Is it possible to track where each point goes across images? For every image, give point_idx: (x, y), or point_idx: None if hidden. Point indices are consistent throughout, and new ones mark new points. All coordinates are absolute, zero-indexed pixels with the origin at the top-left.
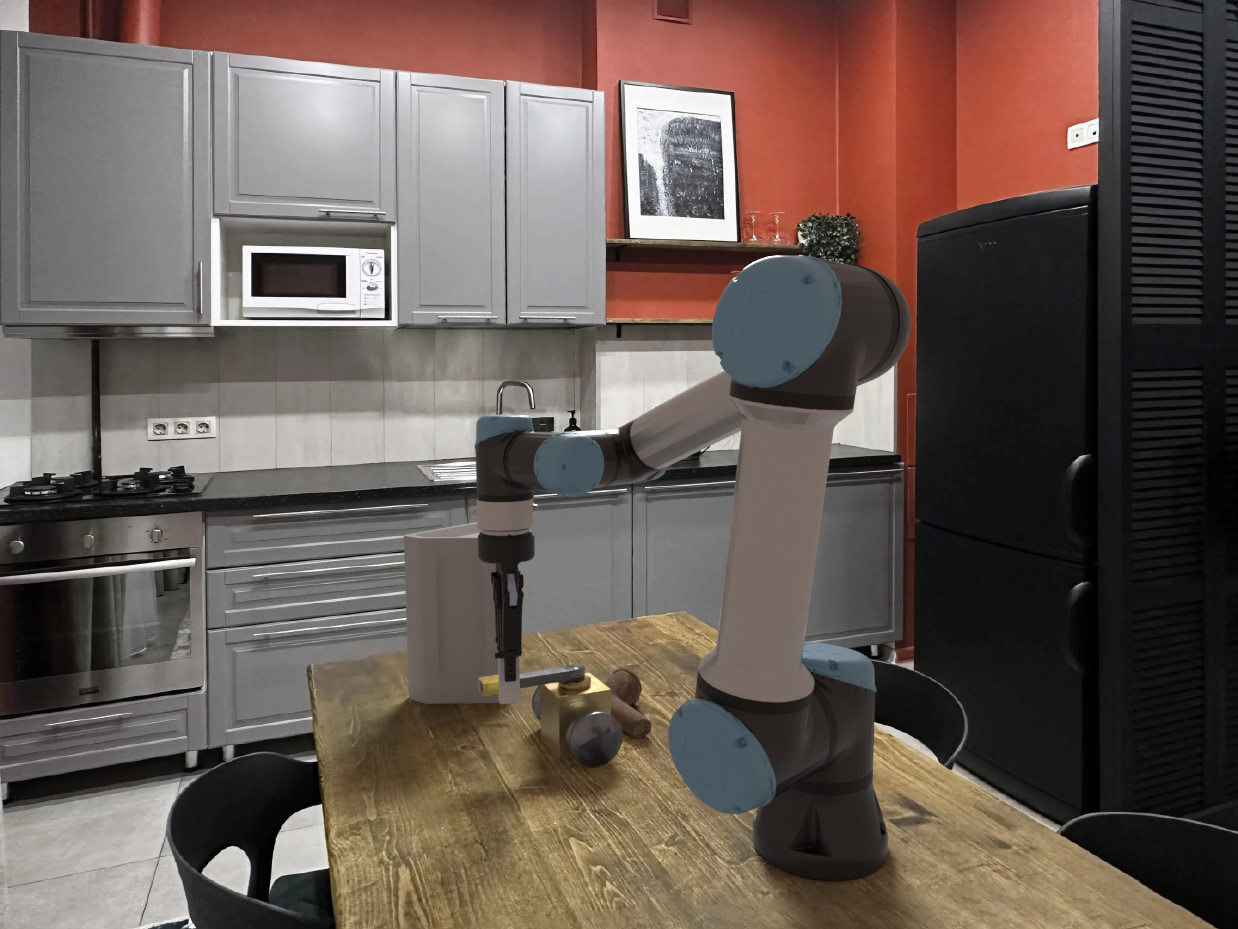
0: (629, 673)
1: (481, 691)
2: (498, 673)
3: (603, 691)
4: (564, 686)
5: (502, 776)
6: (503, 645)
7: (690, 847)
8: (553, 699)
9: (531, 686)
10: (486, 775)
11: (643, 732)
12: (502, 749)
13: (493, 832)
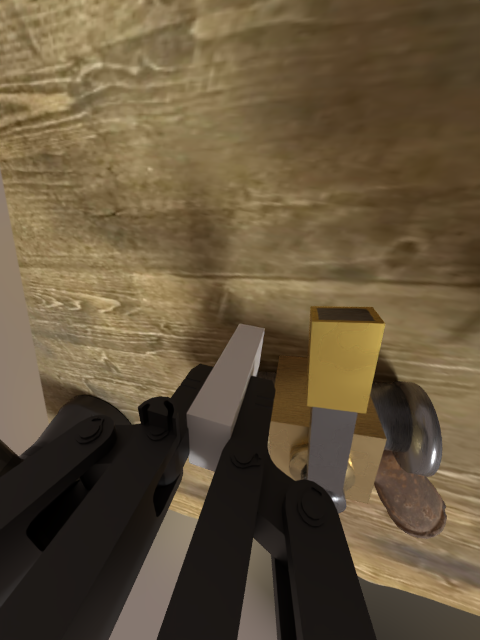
0: (409, 529)
1: (340, 308)
2: (242, 370)
3: None
4: (304, 450)
5: (264, 279)
6: (14, 470)
7: (102, 370)
8: (297, 415)
9: (310, 410)
10: (276, 259)
11: None
12: (354, 304)
13: (133, 233)
